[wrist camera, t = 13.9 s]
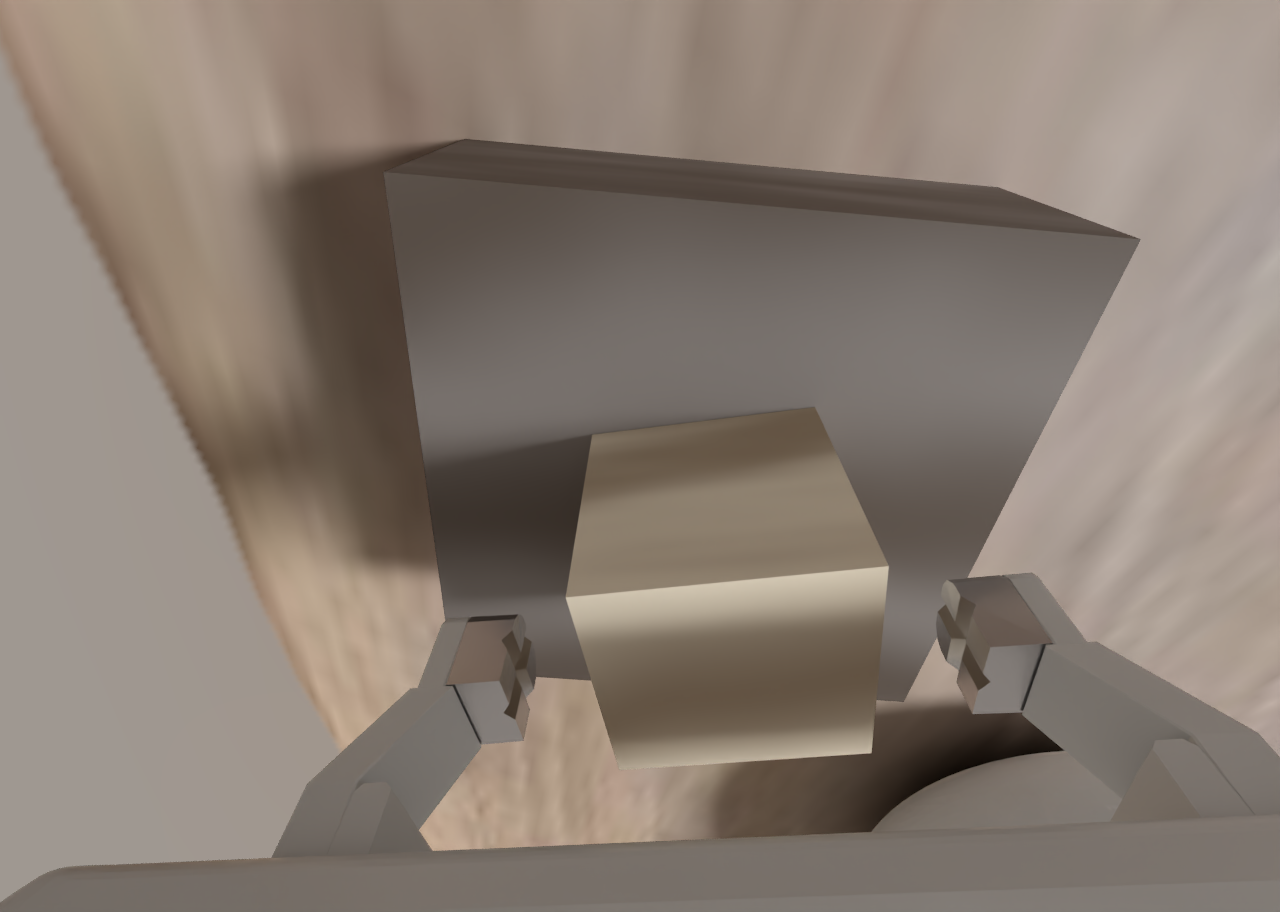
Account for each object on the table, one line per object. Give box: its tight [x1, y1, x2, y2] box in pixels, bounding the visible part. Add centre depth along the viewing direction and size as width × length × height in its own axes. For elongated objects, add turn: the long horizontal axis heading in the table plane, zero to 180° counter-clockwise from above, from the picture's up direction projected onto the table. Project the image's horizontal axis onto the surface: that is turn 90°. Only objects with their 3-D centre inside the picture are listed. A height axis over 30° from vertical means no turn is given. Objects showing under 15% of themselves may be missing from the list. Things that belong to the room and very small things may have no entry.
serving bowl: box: [872, 751, 1122, 832], centre depth 30 cm, size 21×21×7 cm
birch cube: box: [566, 407, 889, 770], centre depth 13 cm, size 5×5×5 cm
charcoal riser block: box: [383, 139, 1141, 702], centre depth 17 cm, size 14×14×6 cm
